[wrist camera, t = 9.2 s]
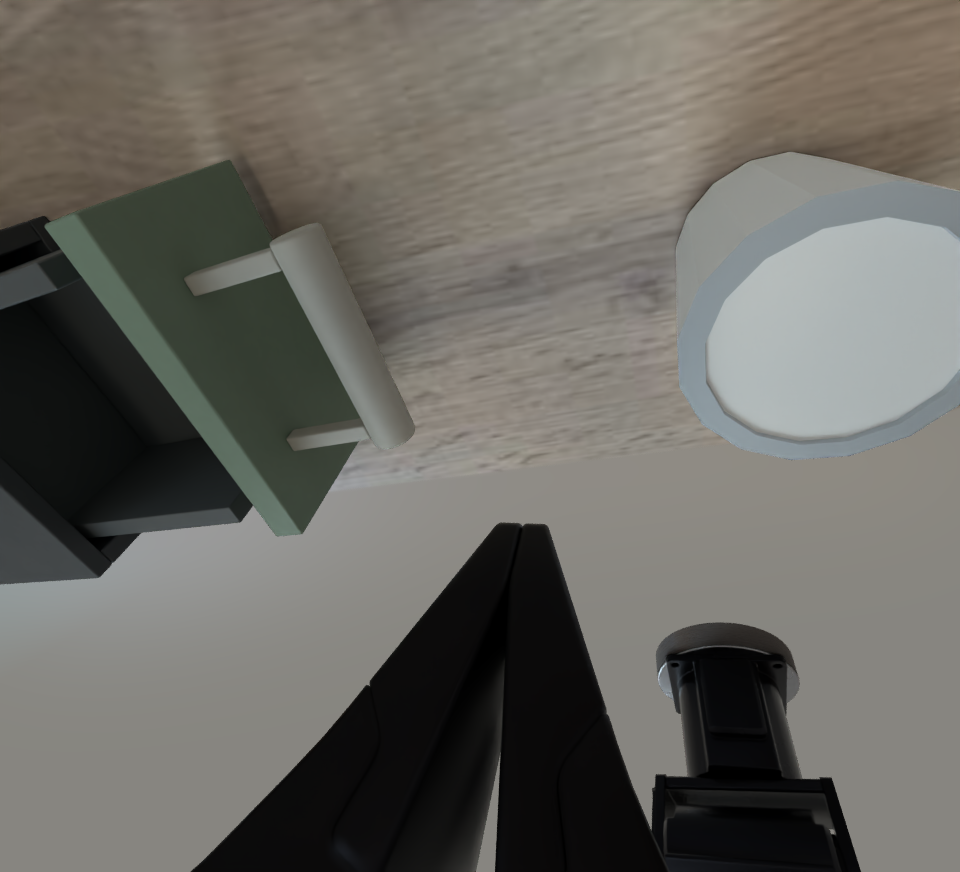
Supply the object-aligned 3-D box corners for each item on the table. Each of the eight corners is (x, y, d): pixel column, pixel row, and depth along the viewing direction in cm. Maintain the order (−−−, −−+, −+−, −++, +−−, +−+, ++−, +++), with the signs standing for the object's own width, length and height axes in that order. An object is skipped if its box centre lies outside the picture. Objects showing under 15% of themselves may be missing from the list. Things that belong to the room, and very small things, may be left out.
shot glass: (883, 79, 14) (1053, 111, 9) (895, 303, 18) (1024, 425, 12) (630, 190, 17) (641, 264, 12) (682, 364, 20) (710, 486, 15)
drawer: (348, 111, 16) (225, 149, 11) (465, 408, 22) (421, 524, 17) (1, 250, 22) (-190, 319, 17) (169, 457, 28) (68, 555, 23)
